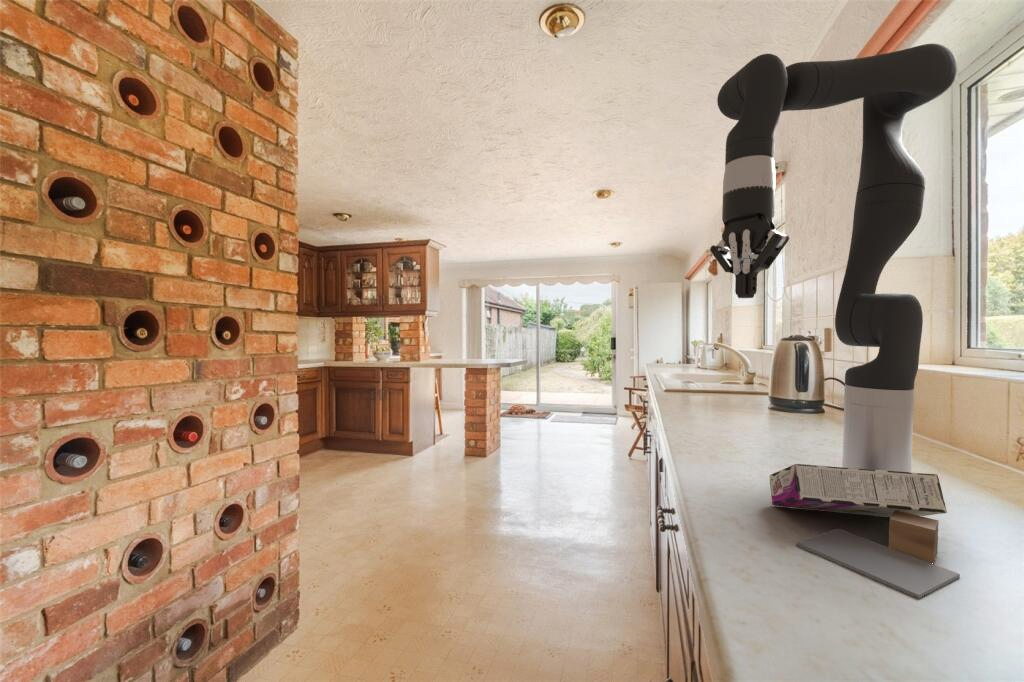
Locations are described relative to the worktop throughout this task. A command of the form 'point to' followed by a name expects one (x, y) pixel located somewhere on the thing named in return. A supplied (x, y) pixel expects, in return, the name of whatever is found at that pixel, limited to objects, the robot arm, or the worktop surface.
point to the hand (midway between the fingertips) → (745, 297)
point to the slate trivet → (879, 562)
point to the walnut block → (914, 535)
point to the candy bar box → (857, 490)
